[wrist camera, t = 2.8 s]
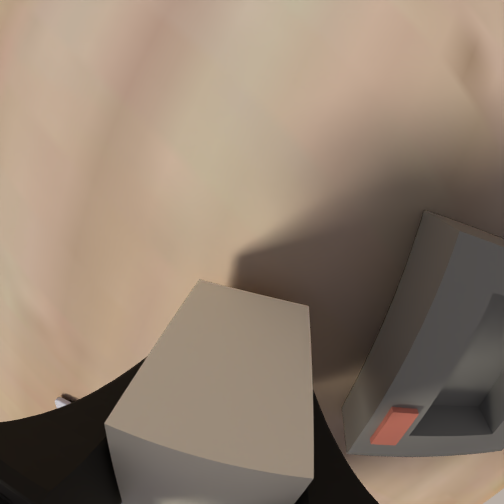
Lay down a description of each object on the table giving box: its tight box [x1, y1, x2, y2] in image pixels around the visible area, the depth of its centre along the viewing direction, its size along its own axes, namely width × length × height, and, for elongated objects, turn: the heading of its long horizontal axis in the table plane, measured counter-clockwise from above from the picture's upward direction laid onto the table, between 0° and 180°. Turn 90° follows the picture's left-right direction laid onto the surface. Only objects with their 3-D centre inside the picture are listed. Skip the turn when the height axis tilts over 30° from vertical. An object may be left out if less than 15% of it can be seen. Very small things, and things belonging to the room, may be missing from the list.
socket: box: [342, 210, 504, 457], centre depth 11 cm, size 10×10×3 cm
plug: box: [104, 279, 314, 504], centre depth 10 cm, size 4×6×8 cm
